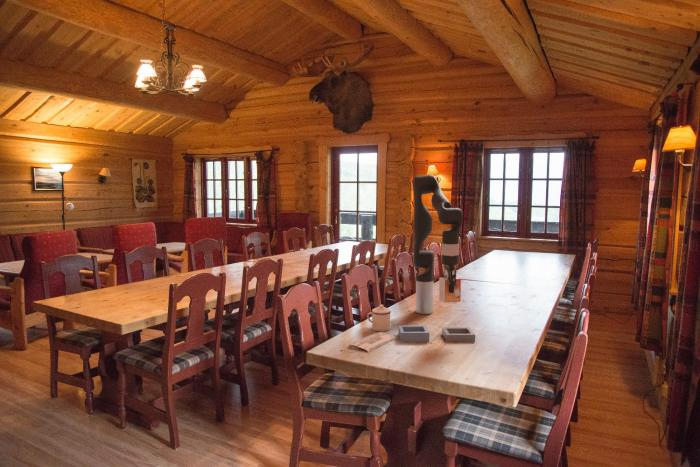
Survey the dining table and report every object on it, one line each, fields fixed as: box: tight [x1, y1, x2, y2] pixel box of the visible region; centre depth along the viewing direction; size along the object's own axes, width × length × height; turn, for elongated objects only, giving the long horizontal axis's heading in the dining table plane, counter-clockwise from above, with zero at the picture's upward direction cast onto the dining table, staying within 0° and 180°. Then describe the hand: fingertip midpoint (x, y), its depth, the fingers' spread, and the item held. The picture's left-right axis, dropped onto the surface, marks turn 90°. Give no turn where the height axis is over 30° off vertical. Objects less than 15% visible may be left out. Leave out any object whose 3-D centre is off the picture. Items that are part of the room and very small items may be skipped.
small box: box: [438, 276, 462, 304], centre depth 209 cm, size 8×6×10 cm
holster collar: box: [441, 326, 476, 342], centre depth 211 cm, size 10×12×3 cm
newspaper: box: [348, 331, 398, 353], centre depth 206 cm, size 23×12×2 cm, turn 142°
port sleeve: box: [398, 325, 430, 343], centre depth 211 cm, size 10×12×4 cm
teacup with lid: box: [366, 304, 392, 332], centre depth 225 cm, size 12×9×12 cm
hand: (449, 290), depth 209 cm, fingers closed on small box, 6 cm apart
